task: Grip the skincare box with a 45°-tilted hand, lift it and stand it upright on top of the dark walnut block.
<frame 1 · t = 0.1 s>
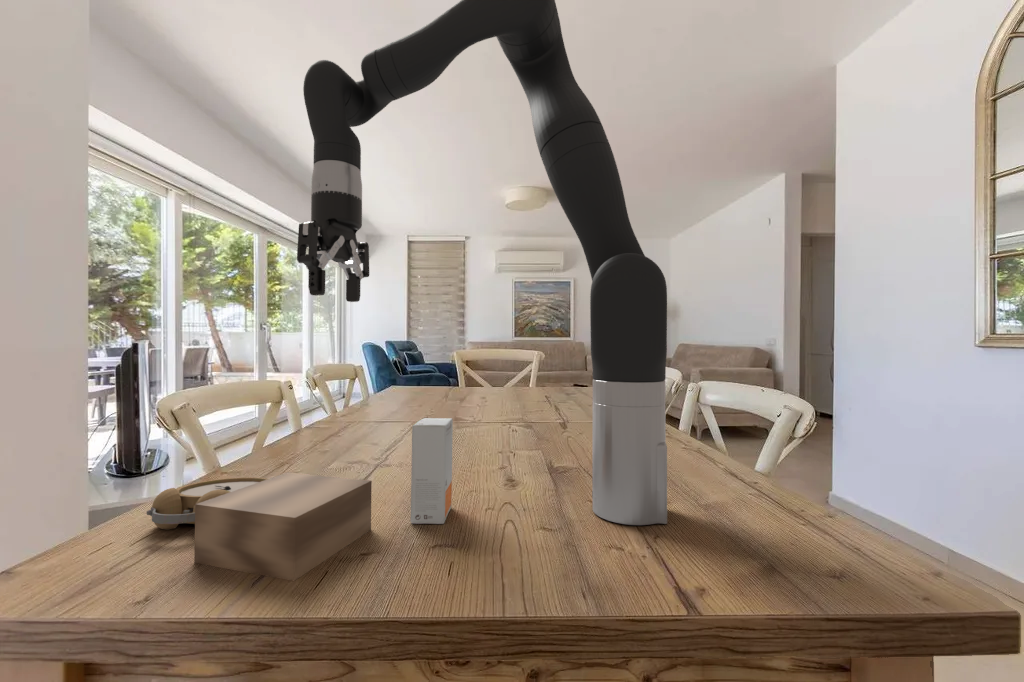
hand: (336, 298, 70), 29 cm above the table, tool pointing down, fingers open, 8 cm apart
skincare box: (432, 517, 56), on the table
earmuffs: (215, 520, 56), on the table
walnut block: (290, 547, 48), on the table
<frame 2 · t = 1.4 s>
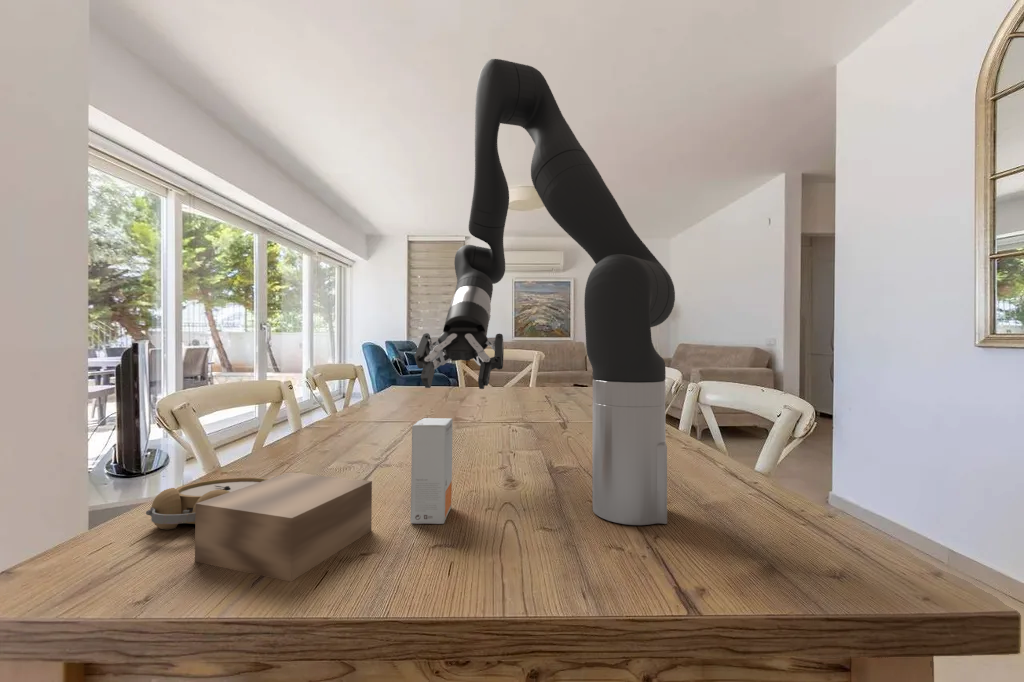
hand: (453, 385, 68), 16 cm above the table, tool tilted 45°, fingers open, 8 cm apart
nothing on the table moved.
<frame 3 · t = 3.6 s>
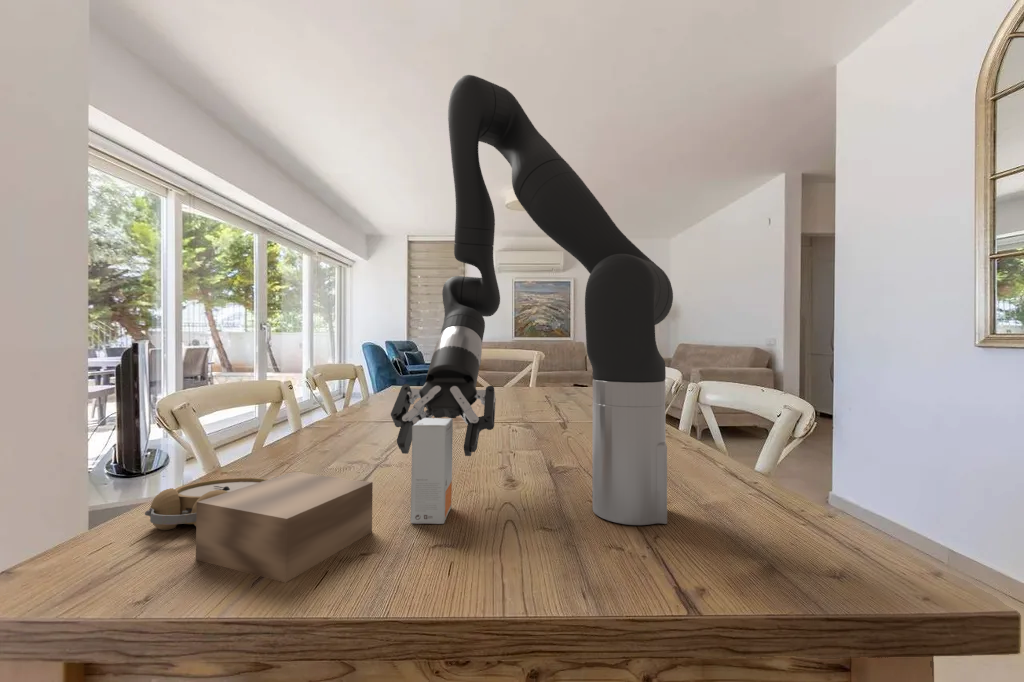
hand: (435, 451, 58), 8 cm above the table, tool tilted 45°, fingers open, 8 cm apart
nothing on the table moved.
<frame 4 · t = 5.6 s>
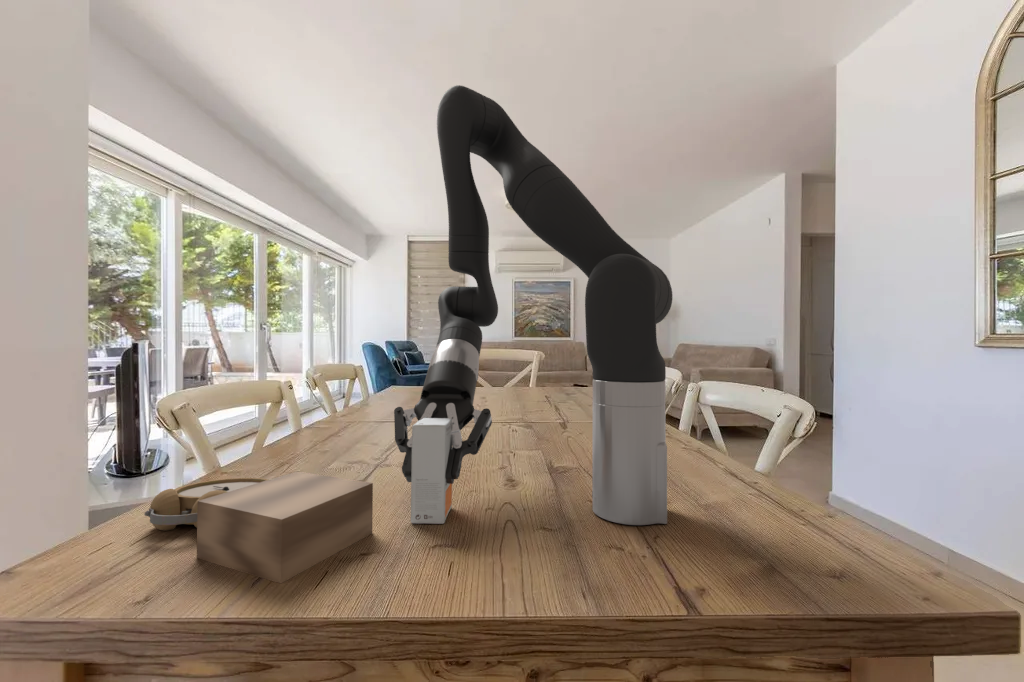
hand: (429, 479, 55), 5 cm above the table, tool tilted 45°, fingers closed on skincare box, 4 cm apart
skincare box: (432, 516, 56), on the table, touching gripper
everything else where it was.
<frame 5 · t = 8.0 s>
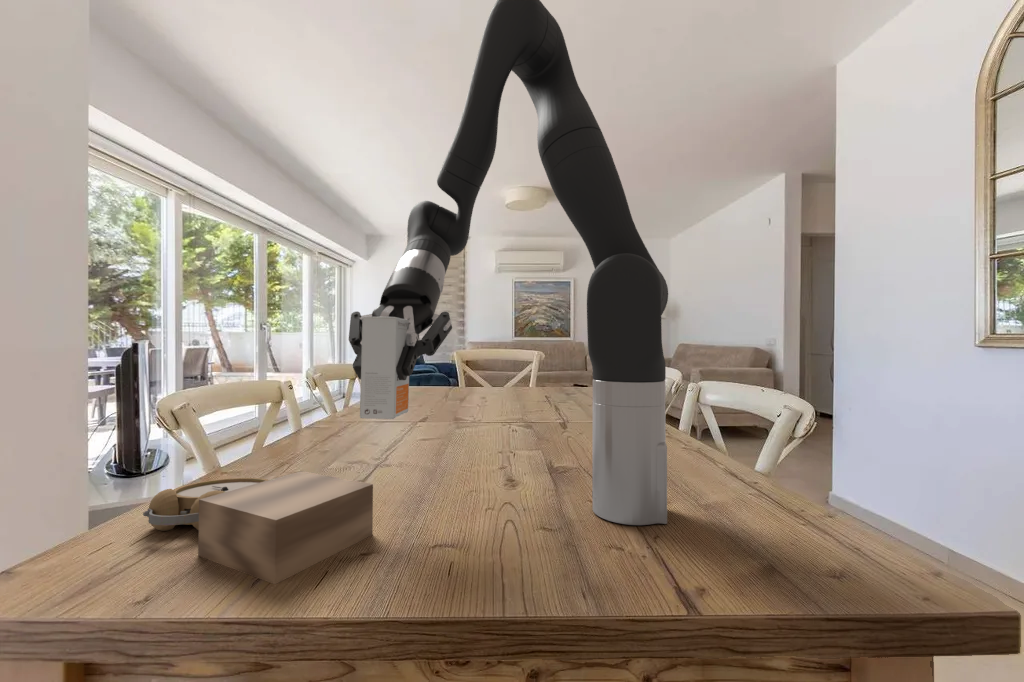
hand: (380, 374, 52), 18 cm above the table, tool tilted 45°, fingers closed on skincare box, 4 cm apart
skincare box: (385, 417, 54), point 13 cm above the table, touching gripper
everything else where it was.
when the fingers open (12 cm above the table, at t = 10.7 s): skincare box drops 2 cm, resting on walnut block.
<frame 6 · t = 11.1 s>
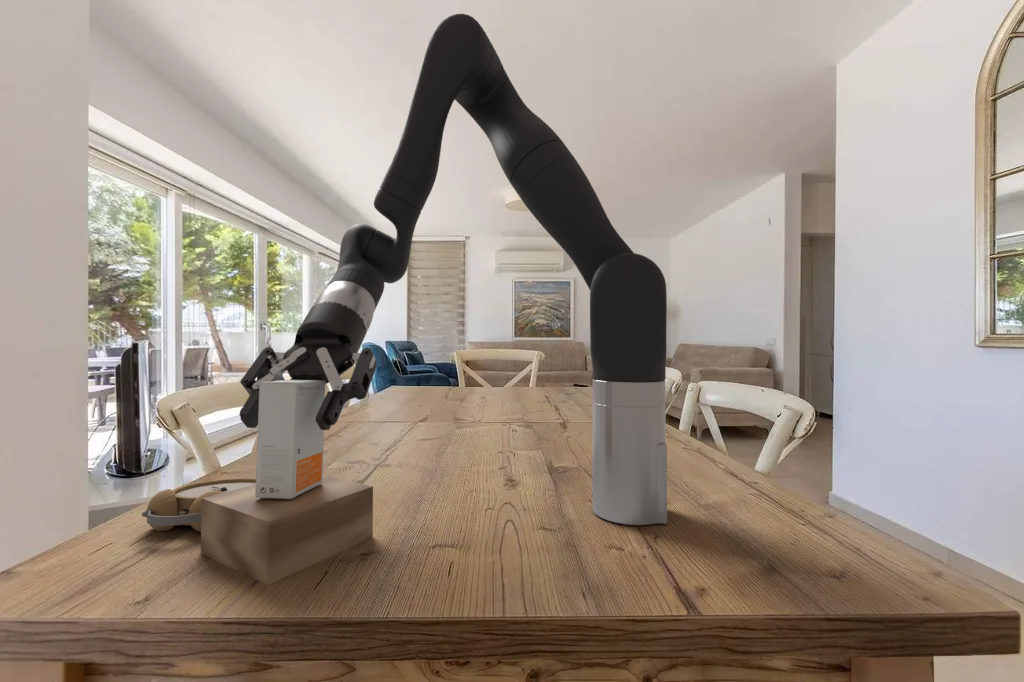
hand: (284, 424, 47), 13 cm above the table, tool tilted 45°, fingers open, 8 cm apart
skincare box: (291, 492, 48), point 5 cm above the table, touching walnut block
walnut block: (290, 548, 48), on the table, touching skincare box
everything else where it was.
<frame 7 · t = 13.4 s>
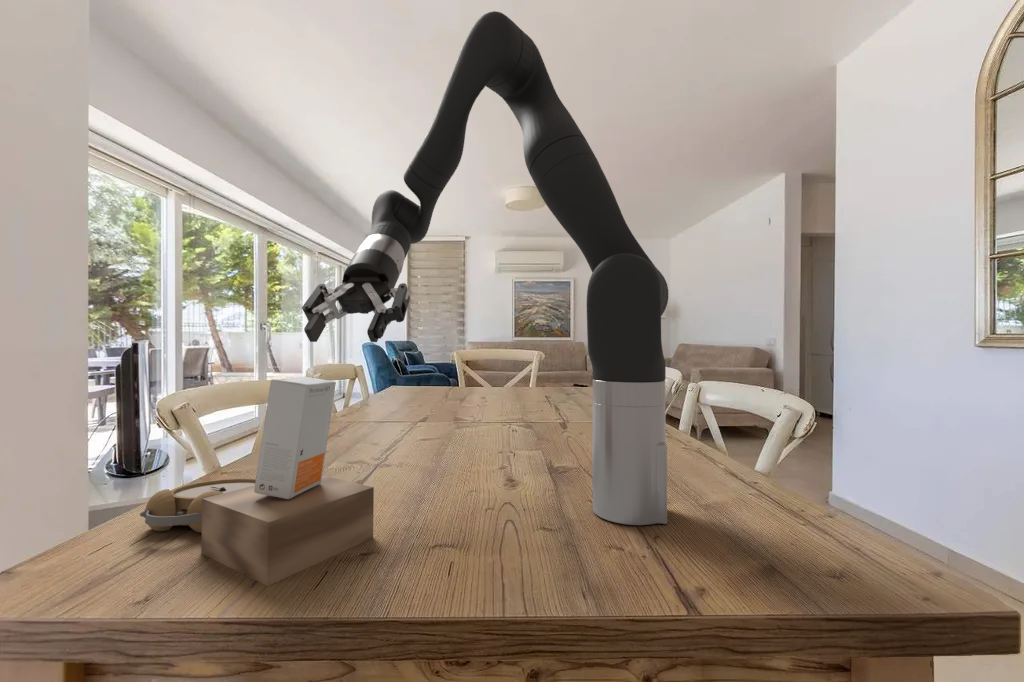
hand: (340, 337, 59), 23 cm above the table, tool tilted 45°, fingers open, 8 cm apart
skincare box: (289, 490, 48), point 6 cm above the table
walnut block: (290, 548, 48), on the table
everything else where it was.
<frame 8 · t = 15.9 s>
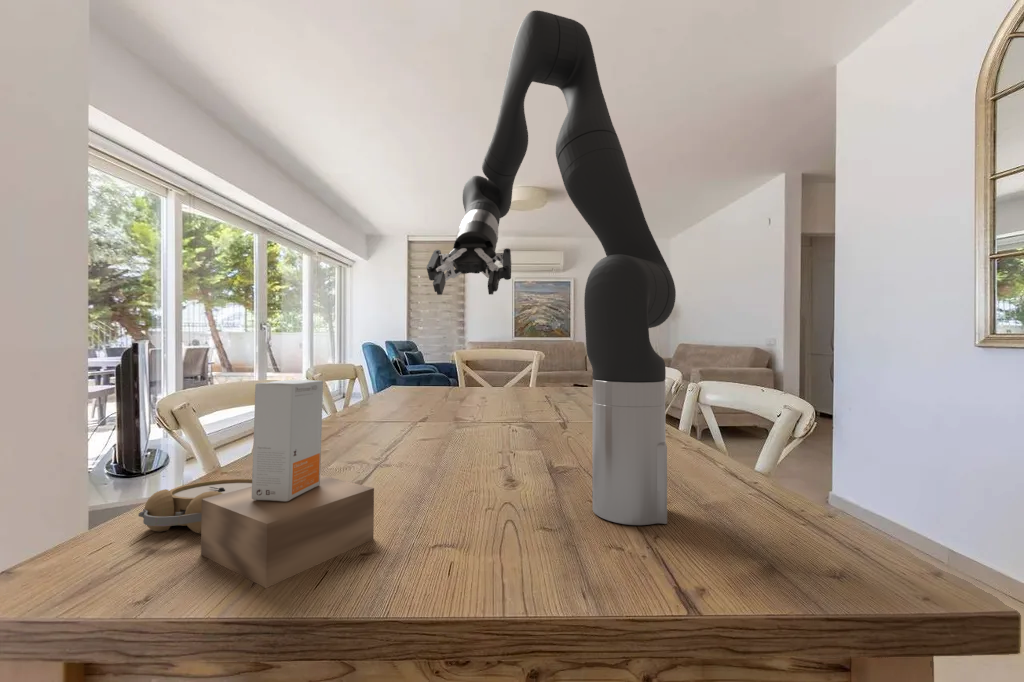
hand: (464, 290, 72), 31 cm above the table, tool tilted 45°, fingers open, 8 cm apart
skincare box: (288, 494, 48), point 5 cm above the table, touching walnut block
walnut block: (290, 549, 47), on the table, touching skincare box
everything else where it was.
at the end: skincare box inside the target area on the walnut block (0.5 cm from its centre), point 6.0 cm above the walnut block's base; skincare box tilted 4°; the gripper is holding nothing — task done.
